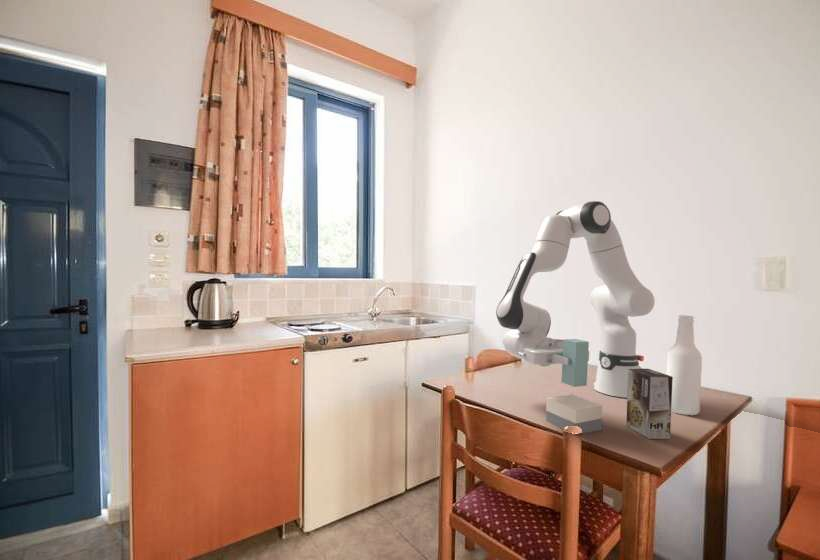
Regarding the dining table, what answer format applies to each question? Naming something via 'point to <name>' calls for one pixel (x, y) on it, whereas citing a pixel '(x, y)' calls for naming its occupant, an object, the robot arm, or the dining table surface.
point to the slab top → (574, 408)
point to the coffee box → (649, 403)
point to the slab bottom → (585, 426)
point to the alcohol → (685, 369)
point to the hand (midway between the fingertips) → (577, 361)
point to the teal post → (575, 362)
